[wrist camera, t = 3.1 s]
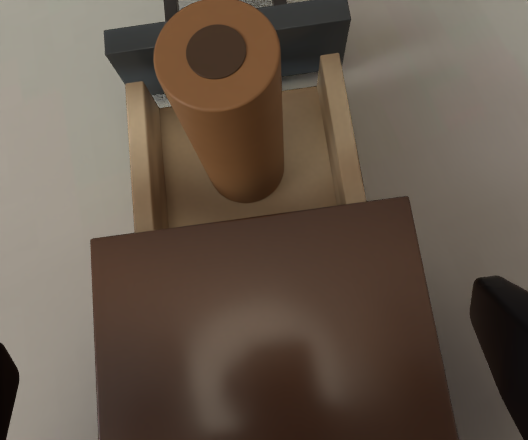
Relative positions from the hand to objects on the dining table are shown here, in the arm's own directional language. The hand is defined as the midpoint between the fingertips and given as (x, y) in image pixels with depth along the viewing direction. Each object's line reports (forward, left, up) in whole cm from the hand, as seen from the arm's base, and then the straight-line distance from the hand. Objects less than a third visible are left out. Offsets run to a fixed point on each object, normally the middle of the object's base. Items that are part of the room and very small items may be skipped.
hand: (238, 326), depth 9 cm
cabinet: (-2, +2, -13) cm, 13 cm away
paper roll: (+5, -6, -11) cm, 13 cm away
